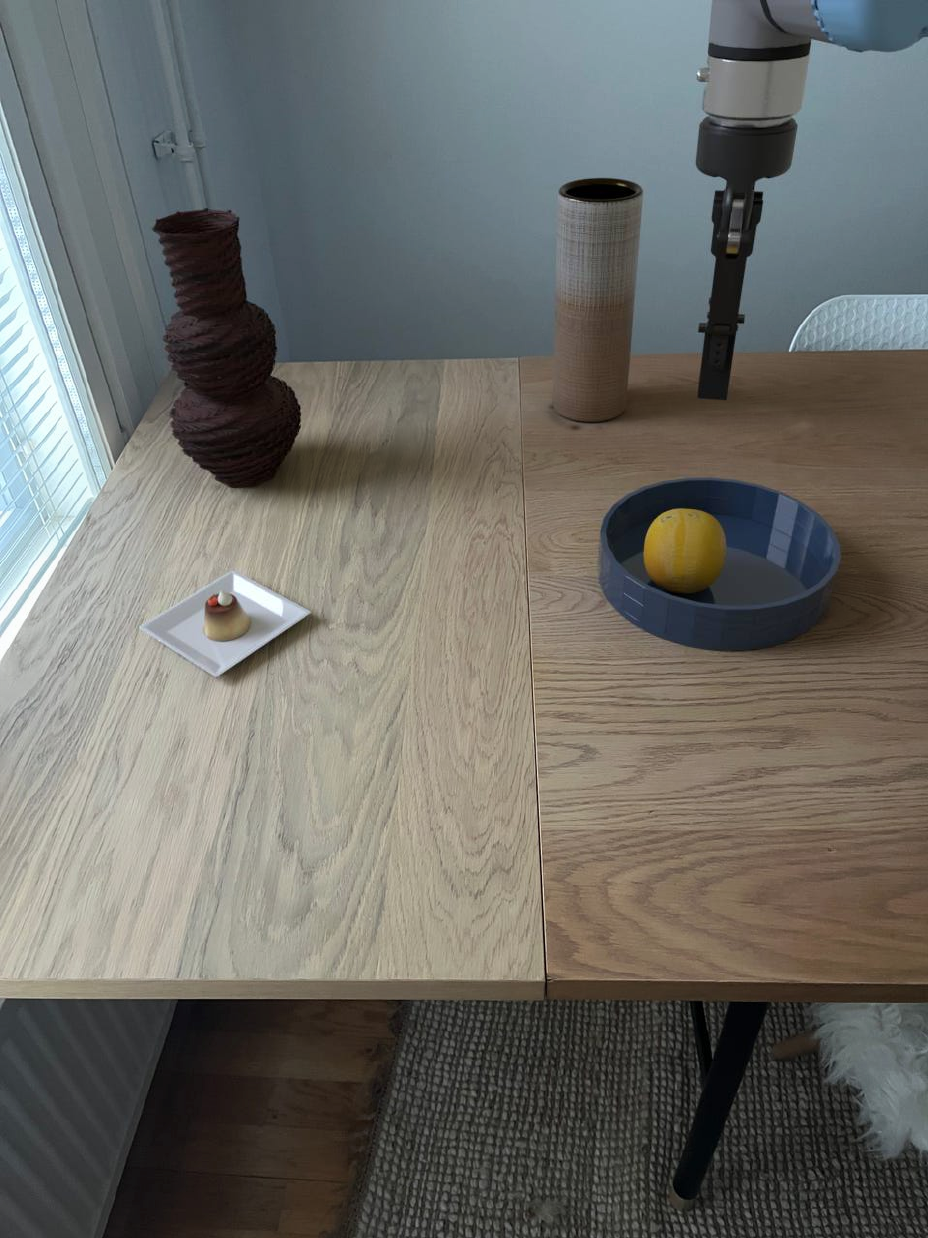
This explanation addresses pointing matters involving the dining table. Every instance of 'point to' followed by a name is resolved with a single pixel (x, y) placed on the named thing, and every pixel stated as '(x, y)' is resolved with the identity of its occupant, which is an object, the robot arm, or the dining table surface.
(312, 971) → the dining table surface
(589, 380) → the tall ceramic vase
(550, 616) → the dining table surface
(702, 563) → the fruit
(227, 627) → the dessert
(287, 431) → the vase
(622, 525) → the bowl
